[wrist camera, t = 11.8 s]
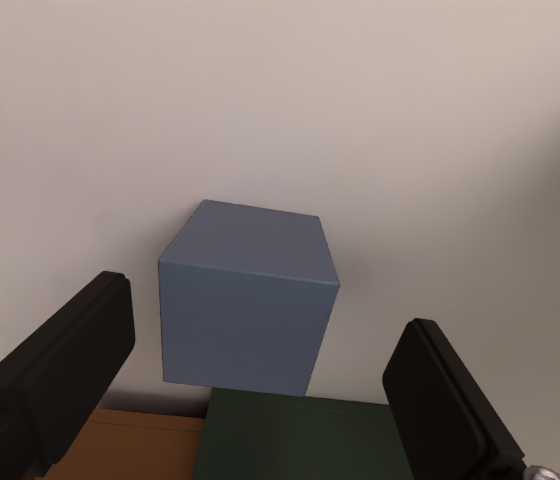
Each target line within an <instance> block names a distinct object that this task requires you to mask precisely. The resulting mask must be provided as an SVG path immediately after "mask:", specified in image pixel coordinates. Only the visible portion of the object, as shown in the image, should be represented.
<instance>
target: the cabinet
mask: <svg viewBox="0 0 560 480" xmlns="http://www.w3.org/2000/svg"><path fill="white" fill-rule="evenodd" d="M191 480H414V478H413V475H412V472H411V469H410V466H409V463H408V460H407V457H406V454H405V451H404V448H403V445H402V442H401V439H400V436H399V432H398V429H397V426H396V423H395V420H394V417H393V414H392V411H391V408H390V406H387V405H377V404H368V403H359V402H349V401H340V400H331V399H321V398H312V397H300V396H291V395H281V394H272V393H263V392H253V391H244V390H235V389H226V388H216V387H213V389H212V393H211V398H210V402H209V406H208V410H207V414H206V418H205V423H204V427H203V431H202V435H201V439H200V444H199V448H198V452H197V456H196V460H195V465H194V469H193V473H192V477H191Z"/></svg>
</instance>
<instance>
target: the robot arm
mask: <svg viewBox="0 0 560 480" xmlns="http://www.w3.org/2000/svg"><path fill="white" fill-rule="evenodd" d="M134 345H135V328H134V317H133V307H132V296H131V286H130V280H129V279H126V278H125V275H124V274H122V273H116V272H109V271H103V272H101V273H100V274H99V275H98V276H96V277H95V278H94V279H93V280H92V281H91V282H90V283H89V284H87V285H86V286H85V287H84V288H83V289H82V290H81V291H80V292H78V293H77V294H76V295H75V296H74V297H73V298H72V299H71V300H69V301H68V302H67V303H66V304H65V305H64V306H63V307H62V308H60V309H59V310H58V311H57V312H56V313H55V314H54V315H53V316H51V317H50V318H49V319H48V320H47V321H46V322H45V323H44V324H42V325H41V326H40V327H39V328H38V329H37V330H36V331H35V332H33V333H32V334H31V335H30V336H29V337H28V338H27V339H26V340H24V341H23V342H22V343H21V344H20V345H19V346H18V347H17V348H15V349H14V350H13V351H12V352H11V353H10V354H9V355H8V356H6V357H5V358H4V359H3V360H2V361H1V362H0V480H21V479H22V477H23V476H31V477H40V478H44V476H45V475H46V473H47V472H48V470H49V469H50V467H51V466H52V464H57V463H59V462H60V461H61V460H62V458H63V457H64V456H65V454H66V453H67V451H68V449H69V448H70V446H71V445H72V443H73V442H74V440H75V439H76V437H77V435H78V434H79V432H80V431H81V429H82V428H83V426H84V425H85V423H86V421H87V420H88V418H89V417H90V415H91V414H92V412H93V411H94V409H95V407H96V406H97V404H98V403H99V401H100V400H101V398H102V397H103V395H104V393H105V392H106V390H107V389H108V387H109V386H110V384H111V383H112V381H113V379H114V378H115V376H116V375H117V373H118V372H119V370H120V368H121V367H122V365H123V364H124V362H125V361H126V359H127V358H128V356H129V354H130V353H131V351H132V350H133V348H134ZM382 383H383V387H384V390H385V393H386V396H387V399H388V402H389V405H390V408H391V411H392V414H393V417H394V420H395V423H396V426H397V429H398V432H399V436H400V439H401V442H402V445H403V448H404V451H405V454H406V457H407V460H408V463H409V466H410V469H411V472H412V475H413V478H414V480H560V475H559V474H558V473H556V472H554V471H552V470H551V469H548V468H545V467H542V466H536V465H531V466H530V467H528V468H527V466H526V465H525V463H524V461H523V460H522V459H523V458H524V457H525V455H524V453H523V452H522V450H521V449H520V447H519V446H518V444H517V443H516V441H515V440H514V438H513V437H512V435H511V434H510V432H509V431H508V429H507V428H506V426H505V425H504V423H503V422H502V420H501V419H500V417H499V416H498V414H497V413H496V411H495V410H494V408H493V407H492V405H491V404H490V402H489V401H488V399H487V398H486V396H485V395H484V393H483V392H482V390H481V389H480V387H479V386H478V384H477V383H476V381H475V380H474V378H473V377H472V375H471V374H470V372H469V371H468V369H467V368H466V366H465V365H464V363H463V362H462V360H461V359H460V357H459V356H458V354H457V353H456V351H455V350H454V348H453V347H452V345H451V344H450V342H449V341H448V339H447V338H446V336H445V335H444V333H443V332H442V330H441V329H440V328H439V326H438V325H437V323H436V322H435V321H433V320H428V319H421V318H415V319H413V320H412V321H409V322H408V323H407V325H406V327H405V329H404V331H403V333H402V335H401V337H400V340H399V342H398V344H397V346H396V348H395V350H394V352H393V354H392V356H391V358H390V360H389V363H388V365H387V367H386V369H385V371H384V373H383V377H382Z"/></svg>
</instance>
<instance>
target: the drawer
mask: <svg viewBox="0 0 560 480" xmlns="http://www.w3.org/2000/svg"><path fill="white" fill-rule="evenodd" d="M204 423H205V419H201V418H191V417H181V416H171V415H160V414H150V413H140V412H130V411H120V410H110V409H100V408H95V409H94V411H93V412H92V414H91V415H90V417H89V418H88V420H87V421H86V423H85V425H84V426H83V428H82V429H81V431H80V432H79V434H78V435H77V437H76V439H75V440H74V442H73V443H72V445H71V446H70V448H69V449H68V451H67V453H66V454H65V456H64V457H63V458H62V460H61V461H60V462H59V463H57V464H52V466H51V467H50V469H49V470H48V472H47V473H46V475H45V476H44V478H40V477H31V476H23V477H22V479H21V480H191V477H192V473H193V469H194V465H195V460H196V456H197V452H198V448H199V444H200V439H201V435H202V431H203V427H204Z"/></svg>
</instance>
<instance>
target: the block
mask: <svg viewBox="0 0 560 480" xmlns="http://www.w3.org/2000/svg"><path fill="white" fill-rule="evenodd" d="M158 274H159V297H160V319H161V341H162V363H163V381H164V382H170V383H179V384H188V385H198V386H207V387H216V388H226V389H235V390H244V391H253V392H263V393H272V394H281V395H291V396H300V397H304V396H305V394H306V391H307V388H308V385H309V381H310V378H311V375H312V372H313V369H314V366H315V362H316V359H317V356H318V353H319V350H320V347H321V343H322V340H323V337H324V334H325V331H326V327H327V324H328V321H329V318H330V315H331V312H332V308H333V305H334V302H335V299H336V296H337V293H338V289H339V286H340V283H339V280H338V277H337V274H336V270H335V267H334V264H333V261H332V258H331V255H330V251H329V248H328V245H327V242H326V239H325V236H324V232H323V229H322V226H321V223H320V220H319V217H316V216H310V215H303V214H296V213H290V212H283V211H277V210H270V209H264V208H257V207H250V206H244V205H237V204H231V203H224V202H218V201H211V200H204V201H203V202H202V203H201V204H200V206H199V207H198V208H197V210H196V211H195V212H194V213H193V215H192V216H191V217H190V219H189V220H188V221H187V223H186V224H185V225H184V226H183V228H182V229H181V230H180V232H179V233H178V234H177V236H176V237H175V238H174V239H173V241H172V242H171V243H170V245H169V246H168V247H167V248H166V250H165V251H164V252H163V254H162V255H161V256H160V258H159V259H158Z"/></svg>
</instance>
